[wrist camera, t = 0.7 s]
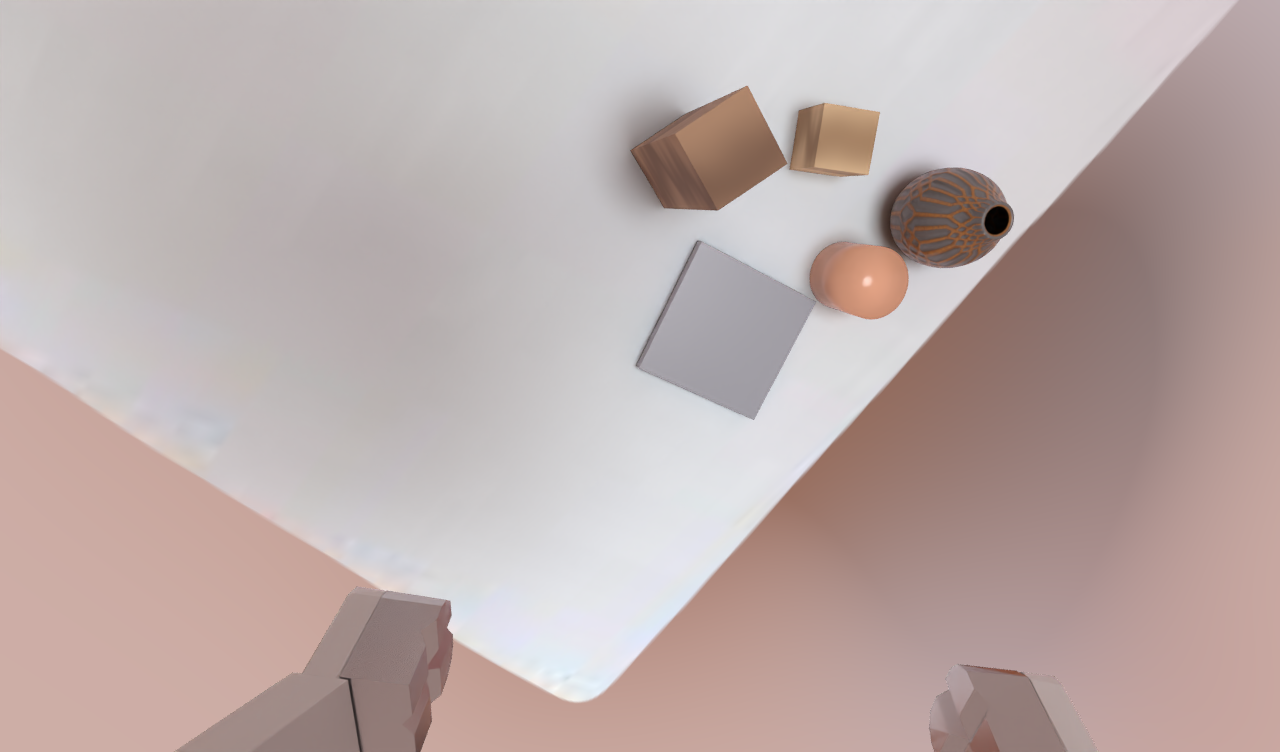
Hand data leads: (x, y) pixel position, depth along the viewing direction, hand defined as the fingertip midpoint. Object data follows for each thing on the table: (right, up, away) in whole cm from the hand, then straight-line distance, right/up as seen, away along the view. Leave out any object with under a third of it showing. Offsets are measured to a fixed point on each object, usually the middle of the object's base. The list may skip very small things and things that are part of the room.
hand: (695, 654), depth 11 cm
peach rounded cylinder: (+14, +12, +40) cm, 44 cm away
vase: (+20, +17, +41) cm, 48 cm away
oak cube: (+12, +21, +38) cm, 45 cm away
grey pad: (+5, +8, +39) cm, 41 cm away
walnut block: (+1, +19, +36) cm, 41 cm away
